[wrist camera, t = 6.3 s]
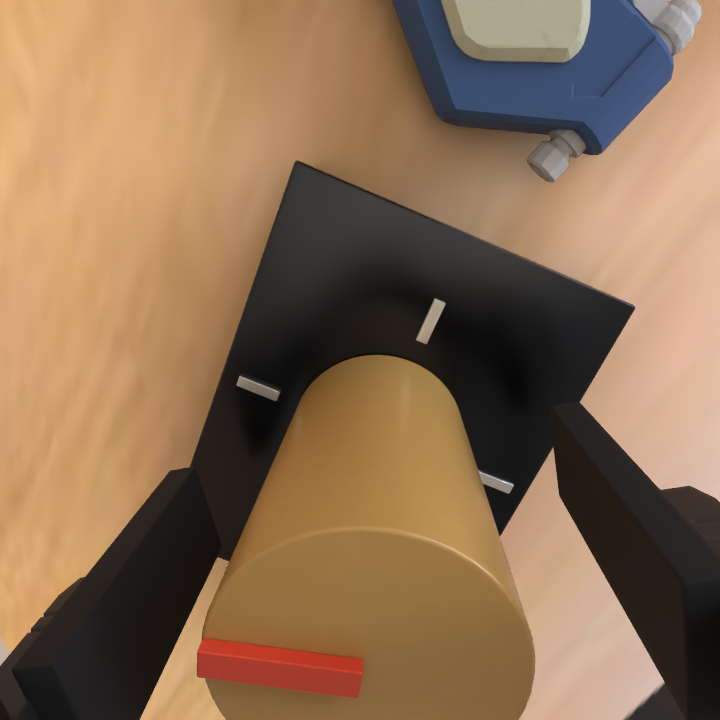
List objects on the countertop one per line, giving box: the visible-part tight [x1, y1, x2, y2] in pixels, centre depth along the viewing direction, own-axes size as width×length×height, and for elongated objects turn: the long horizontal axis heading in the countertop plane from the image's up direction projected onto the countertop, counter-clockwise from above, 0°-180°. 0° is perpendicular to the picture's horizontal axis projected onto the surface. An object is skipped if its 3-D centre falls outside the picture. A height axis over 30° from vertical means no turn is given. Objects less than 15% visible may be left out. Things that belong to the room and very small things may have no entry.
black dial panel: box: [190, 161, 635, 561], centre depth 19 cm, size 14×11×3 cm
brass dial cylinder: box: [197, 355, 535, 720], centre depth 13 cm, size 6×6×9 cm
